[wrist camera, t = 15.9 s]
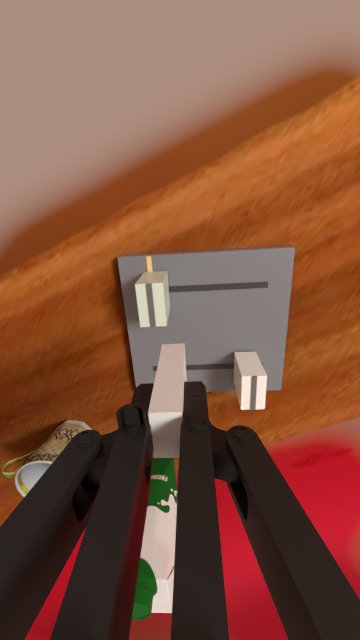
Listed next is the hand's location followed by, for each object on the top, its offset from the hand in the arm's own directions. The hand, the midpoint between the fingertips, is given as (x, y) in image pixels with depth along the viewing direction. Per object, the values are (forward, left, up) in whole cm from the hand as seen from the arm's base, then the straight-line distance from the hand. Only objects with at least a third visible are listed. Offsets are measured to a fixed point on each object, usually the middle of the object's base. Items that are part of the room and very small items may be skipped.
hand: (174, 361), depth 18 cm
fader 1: (-3, 0, -18) cm, 18 cm away
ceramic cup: (-22, -26, -21) cm, 40 cm away
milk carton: (-7, -36, -21) cm, 42 cm away
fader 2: (+8, -12, -18) cm, 23 cm away
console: (+3, -6, -20) cm, 21 cm away
